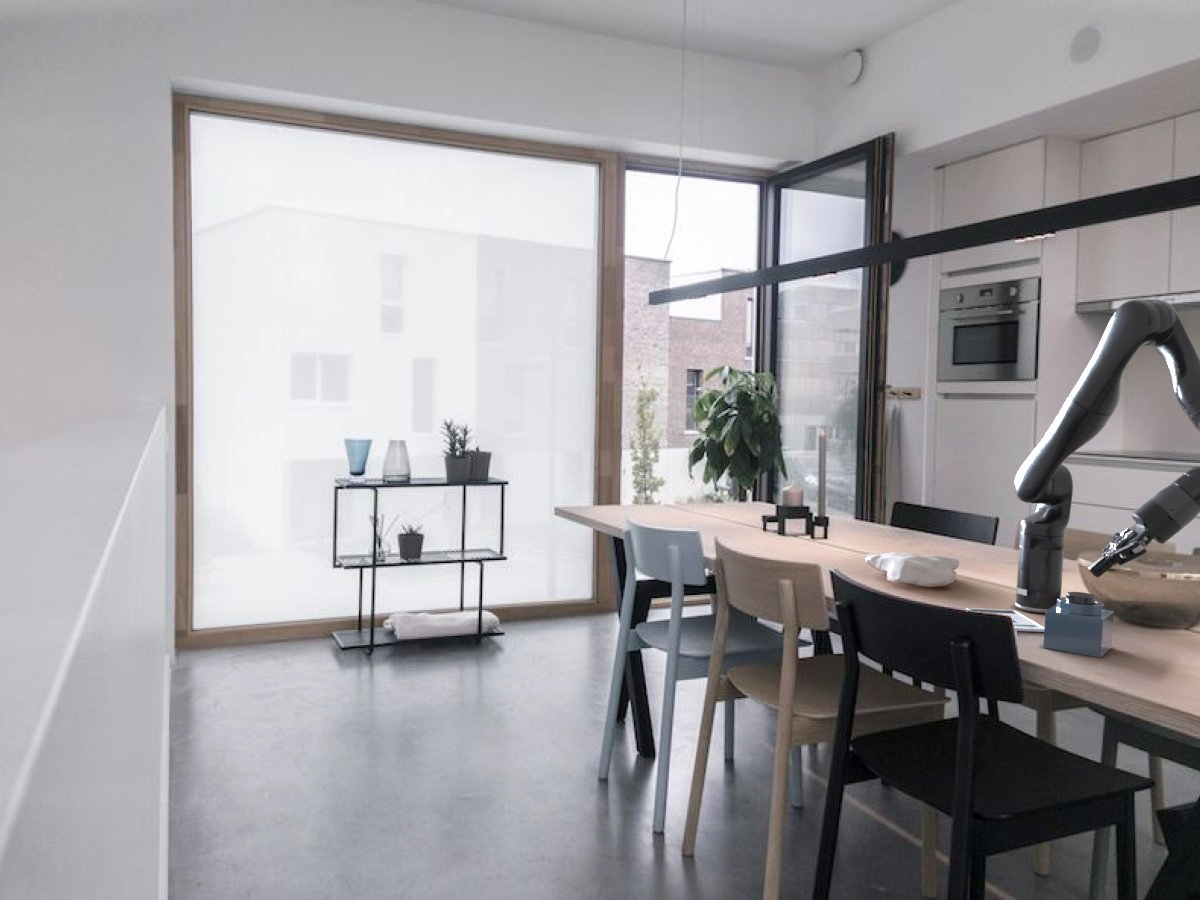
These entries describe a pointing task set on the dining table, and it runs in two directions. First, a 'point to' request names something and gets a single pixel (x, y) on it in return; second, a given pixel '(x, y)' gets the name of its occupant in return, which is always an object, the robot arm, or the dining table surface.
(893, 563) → the rock
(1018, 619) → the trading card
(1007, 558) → the dining table surface
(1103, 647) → the blue-grey box with cap
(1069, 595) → the button
